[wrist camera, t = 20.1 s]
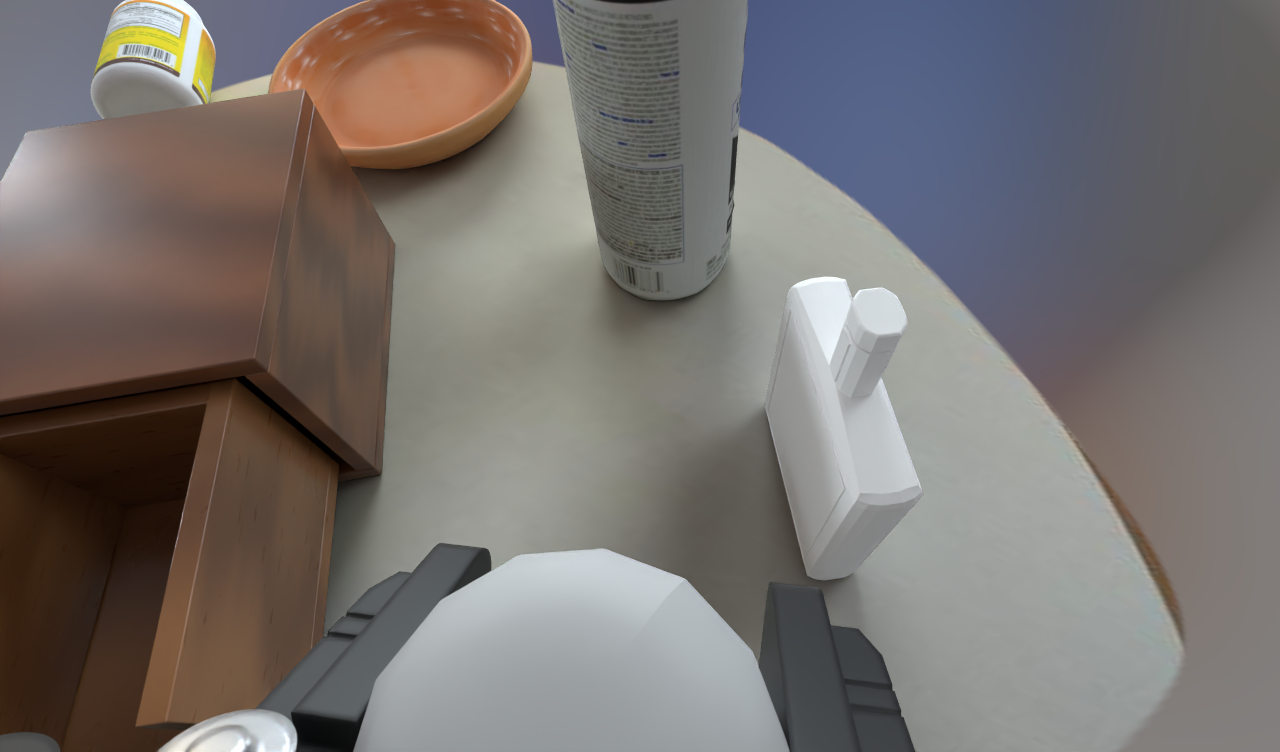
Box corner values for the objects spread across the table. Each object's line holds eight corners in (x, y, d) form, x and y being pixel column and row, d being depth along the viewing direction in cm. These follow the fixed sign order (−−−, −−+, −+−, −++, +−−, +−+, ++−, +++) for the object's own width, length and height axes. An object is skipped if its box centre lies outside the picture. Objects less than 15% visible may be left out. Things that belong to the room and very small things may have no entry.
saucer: (588, 106, 40) (581, 61, 37) (354, 234, 36) (328, 193, 33) (464, 4, 47) (450, -40, 44) (257, 100, 43) (229, 58, 40)
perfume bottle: (761, 401, 29) (801, 203, 18) (805, 395, 29) (870, 194, 18) (806, 584, 25) (890, 462, 14) (857, 576, 25) (979, 449, 14)
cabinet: (382, 475, 28) (254, 359, 20) (116, 519, 28) (-125, 421, 20) (395, 244, 35) (304, 87, 27) (183, 278, 35) (25, 130, 27)
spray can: (753, 276, 32) (826, -269, 15) (630, 326, 31) (556, -197, 14) (693, 192, 35) (697, -336, 18) (580, 234, 34) (471, -282, 17)
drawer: (317, 1016, 19) (106, 1166, 12) (-46, 1082, 18) (-469, 1273, 12) (360, 464, 27) (253, 371, 21) (116, 505, 27) (-72, 424, 21)
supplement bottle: (168, 168, 41) (186, 75, 46) (226, 120, 39) (237, 29, 45) (64, 107, 36) (97, 12, 42) (125, 49, 35) (151, -43, 40)
